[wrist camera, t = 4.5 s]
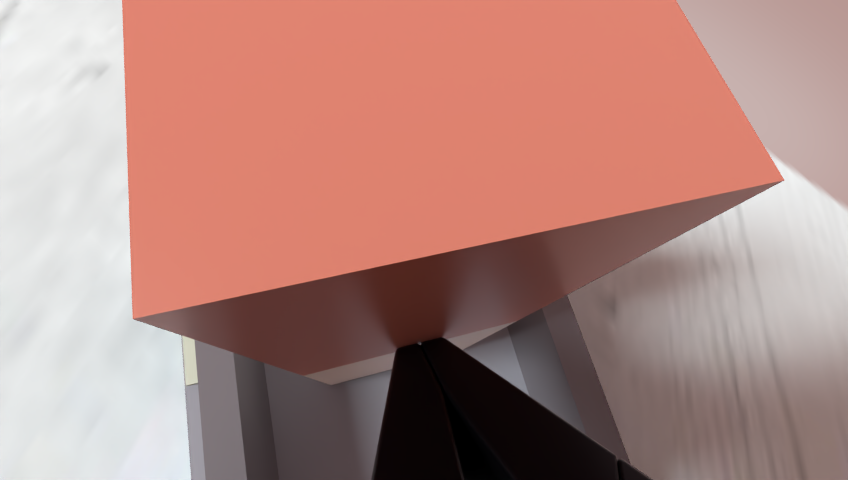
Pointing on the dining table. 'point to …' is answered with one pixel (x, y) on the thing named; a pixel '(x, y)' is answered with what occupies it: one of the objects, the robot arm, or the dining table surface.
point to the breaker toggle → (410, 165)
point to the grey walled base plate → (366, 403)
